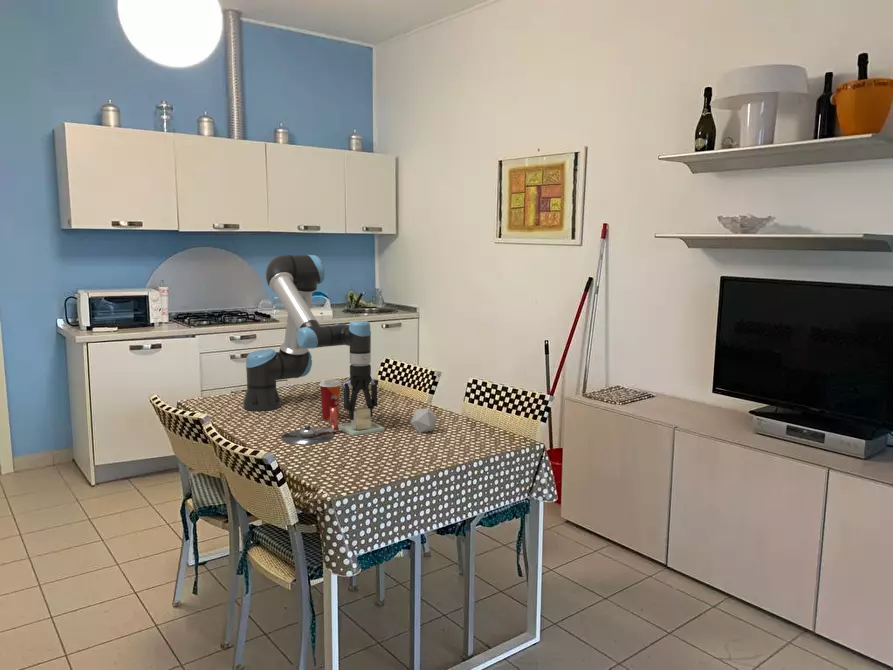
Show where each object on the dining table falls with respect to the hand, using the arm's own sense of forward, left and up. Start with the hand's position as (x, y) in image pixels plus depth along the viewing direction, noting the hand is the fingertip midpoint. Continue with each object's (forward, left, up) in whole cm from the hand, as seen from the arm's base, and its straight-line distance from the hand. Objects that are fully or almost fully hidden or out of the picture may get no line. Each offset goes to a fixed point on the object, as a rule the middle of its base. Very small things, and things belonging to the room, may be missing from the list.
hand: (360, 427), depth 245 cm
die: (+13, +19, -1) cm, 23 cm away
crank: (-1, -16, 0) cm, 16 cm away
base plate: (-1, -20, -1) cm, 20 cm away
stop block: (0, 0, 0) cm, 0 cm away
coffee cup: (-20, -3, -1) cm, 20 cm away
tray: (0, 0, -1) cm, 1 cm away
